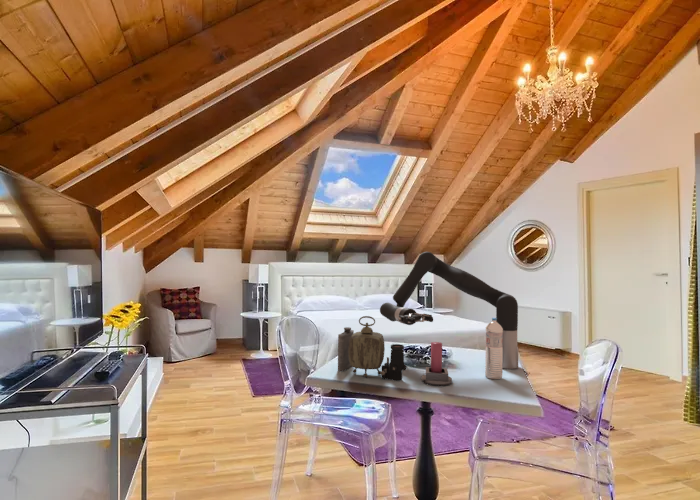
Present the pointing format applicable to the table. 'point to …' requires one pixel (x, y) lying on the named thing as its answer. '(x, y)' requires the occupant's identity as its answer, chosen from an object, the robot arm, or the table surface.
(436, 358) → the candle
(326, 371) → the table surface
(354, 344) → the tabletop clock
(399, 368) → the scope
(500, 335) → the water bottle
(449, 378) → the candle holder
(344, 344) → the flask
